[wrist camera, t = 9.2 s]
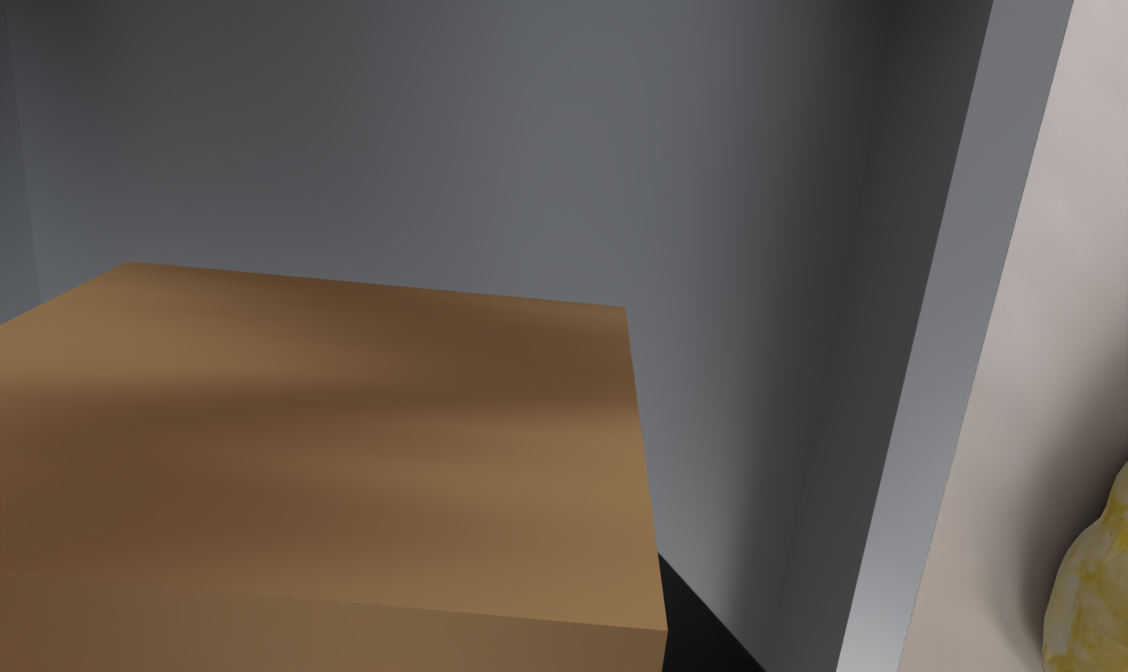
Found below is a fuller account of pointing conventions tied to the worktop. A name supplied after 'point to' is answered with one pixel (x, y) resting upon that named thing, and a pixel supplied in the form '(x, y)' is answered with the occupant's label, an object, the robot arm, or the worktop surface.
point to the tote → (597, 226)
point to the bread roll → (1092, 595)
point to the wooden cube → (321, 480)
